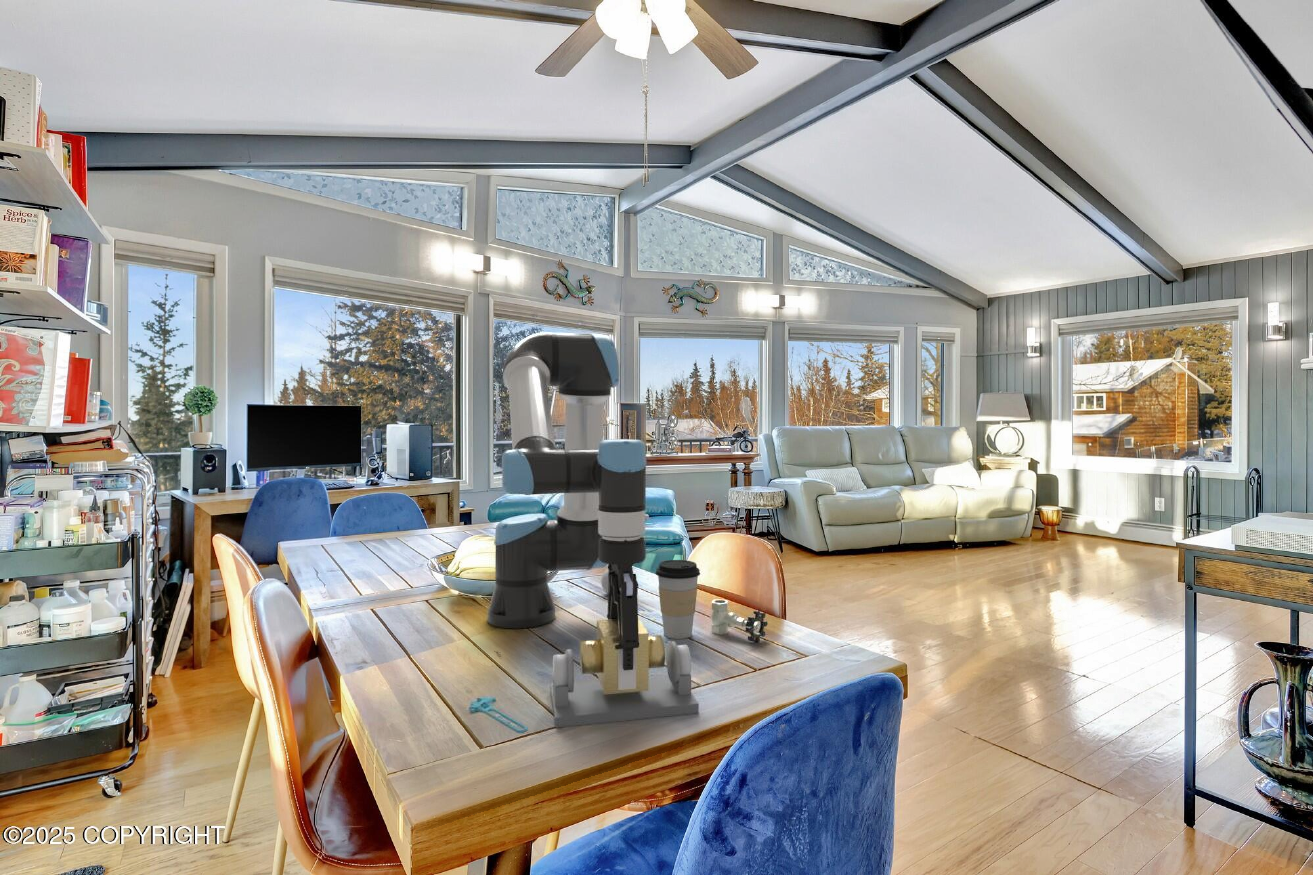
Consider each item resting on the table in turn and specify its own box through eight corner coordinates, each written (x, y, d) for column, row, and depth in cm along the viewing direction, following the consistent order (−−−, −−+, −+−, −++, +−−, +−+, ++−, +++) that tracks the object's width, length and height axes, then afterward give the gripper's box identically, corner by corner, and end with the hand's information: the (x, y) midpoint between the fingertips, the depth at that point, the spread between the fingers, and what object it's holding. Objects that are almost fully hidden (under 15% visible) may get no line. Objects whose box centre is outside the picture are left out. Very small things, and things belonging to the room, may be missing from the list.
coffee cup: (686, 645, 130) (686, 571, 130) (646, 636, 135) (646, 565, 135) (707, 631, 138) (708, 562, 138) (669, 624, 143) (670, 557, 143)
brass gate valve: (578, 675, 106) (578, 621, 106) (656, 669, 109) (656, 616, 108) (584, 696, 98) (584, 637, 98) (667, 688, 101) (667, 631, 101)
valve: (702, 633, 137) (749, 647, 129) (702, 602, 137) (749, 614, 129) (721, 626, 142) (767, 639, 134) (721, 596, 142) (767, 607, 134)
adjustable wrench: (461, 702, 102) (489, 693, 106) (461, 708, 102) (489, 699, 106) (510, 732, 92) (539, 721, 96) (510, 739, 92) (539, 727, 96)
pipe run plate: (550, 693, 107) (550, 638, 107) (679, 682, 112) (679, 629, 112) (555, 727, 95) (555, 666, 95) (698, 712, 100) (698, 654, 100)
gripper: (659, 548, 93) (659, 703, 94) (633, 524, 114) (633, 652, 114) (608, 550, 92) (608, 708, 92) (590, 526, 112) (590, 655, 113)
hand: (622, 677), depth 103 cm, fingers closed on brass gate valve, 8 cm apart
